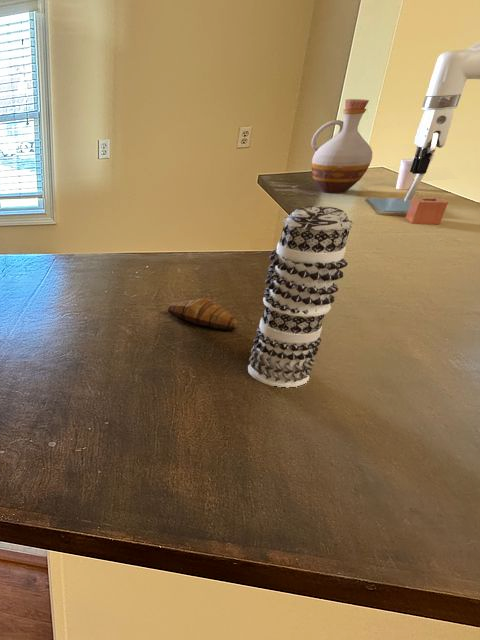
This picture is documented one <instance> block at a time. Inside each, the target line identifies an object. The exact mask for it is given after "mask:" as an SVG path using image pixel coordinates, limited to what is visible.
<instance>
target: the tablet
mask: <svg viewBox="0 0 480 640" xmlns="http://www.w3.org/2000/svg"><path fill="white" fill-rule="evenodd" d="M404 199H405V197H404V198H402V197H400V198H399V197H397V198H396V197H365V200H364V201H365V203H367V204H368V205H369V206H370V208H372V209H373V210H374V211H375V212H376V213H377V214H378V215H379V216H406V215H407V212H408V209H409V206H410V204H411V201H412V199H411V201H409V202H405V200H404Z"/></svg>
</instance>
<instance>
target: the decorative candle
mask: <svg viewBox="0 0 480 640" xmlns="http://www.w3.org/2000/svg"><path fill="white" fill-rule="evenodd" d="M281 221H282V223H283V227H282V229H281V231H282V232H281V236H280V239H279V240H278V242H277V246H276V247H275V249H273V250H272V251H271V252H270V255H269V260H270V262H271V264H269V265H268V266H267V275H266V279H265V281H264V283H265V284H266V288H265V289H264V293H263V298H262V301H263V302H262V303H263V305H264V310H263V315H262V317H261V318H260V320H259V326H258V327H256V330H255V335H256V336H255V337H254V339H253V343H254V345H253V346H252V347H251V349H250V354H251V355H250V357H249V359H248V362H249V364H248V365H247V371H248V374H249V375H250V376H251V377H252V379H254V380H256V381H258V382H260V383H262V384H264V385H268V386H271V387H274V386H277V387H276V388H281V387H286V388H285V389H290V388H289V387H296V388H298V387H297V386H300V385H303V384H305V383H306V384H308V382H309V380H310V375H311V374H312V372H311V371H313V366H315V363H314V362H316V358H315V356H317V354H318V351H319V348H318V347H319V346H320V343H321V342H322V338H321V337H320V336H321V335H322V330H323V326H322V325H323V321H324V319H325V314H328V313H329V312H330V310H331V309H332V306H331V304H333V303H334V302H335V296H334V295H333V294H335V293H337V292H338V291H339V287H338V285H337V284H336V283H335V282H334V281H337V280H340V279H343V278H344V272H343V271H342V270H341V269H344V268H346V267H347V266H348V264H349V263H348V262H347V260H346V259H344V257H345V254H346V250H347V246H346V244H347V241H348V237H349V235H350V230H351V228H353V226H355V223H354V222H353V221H352V220H350V219H349V217H348V214H347V213H346V212H345V211H344V210H343V209H341V208H337V207H332V206H325V205H308V206H301V207H298V208H296V209H295V210H293V211H292V212H291V213H290V215H289V216H286V217H285V216H284V218H282V219H281ZM307 381H308V382H307ZM306 384H305V385H306ZM303 386H304V385H303ZM300 387H301V386H300Z"/></svg>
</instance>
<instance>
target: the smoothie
mask: <svg viewBox="0 0 480 640" xmlns="http://www.w3.org/2000/svg"><path fill="white" fill-rule="evenodd" d="M414 158H415V155H414V157H413V158H401V159H400V161H399V164H400V165H399V170H398V175H397V182H396V187H395V190H402V191H407V190H408V191H409V190H410V188H411V186H412V184H413V182H414V180H415V178H416V176H417V174H413V173H412V172H410V169H411V166H412V163H413V160H414Z"/></svg>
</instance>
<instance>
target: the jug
mask: <svg viewBox="0 0 480 640" xmlns="http://www.w3.org/2000/svg"><path fill="white" fill-rule="evenodd" d="M344 102H345V103H344V105H345V106H344V107H345V108H344V109H343V110H342V113H343V120H340V119H334V120H330V121H328V122H326V123H325V124H323V125H322V126H320V127H319V128H318V129H317V130H316V131H315V132H314V134H313V137H312V138H311V148H312V150H314V151H315V152H314V155H313V157H312V159H311V174H312V179H313V181H314V182H315V185H316V187H317V188H318V189H319V191H320V192H321V193H326V194H327V193H328V194H343V193H346V192H347V191H349V190H350V189H351V188H352V187H353V186H354V185H356V184H357V183H358V182H359V181H360V180H361V179H362V178H363V176H364V175H365V173H367V171H368V169H369V167H370V166H371V163H372V160H373V150H372V147H371V146H370V144H369V143H368V142H367V141H366V139H364V137H363V136H362V135H361V133H360V132H359V125H360V122H361V119H362V118H363V115H364V114H365V113H366V111H367V108H366V107H367V106H368V103H369V102H370V100H369V99H359V98H348V99H345V101H344ZM335 125H338V126H339V130H338V132H337V133H336V134H335V135H334V136H333V137H331V138H330V139H329V140H327V141H326V142H325V143H322V144H321V145H317V140H318V137H319V135H320V134H321V133H323V131H325V130H326V129H327V128H329V127H331V126H335Z"/></svg>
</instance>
